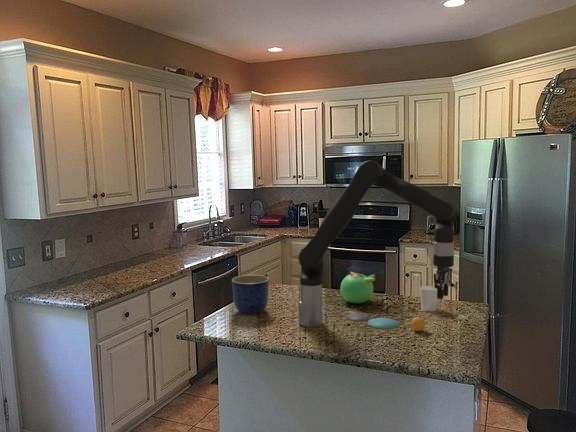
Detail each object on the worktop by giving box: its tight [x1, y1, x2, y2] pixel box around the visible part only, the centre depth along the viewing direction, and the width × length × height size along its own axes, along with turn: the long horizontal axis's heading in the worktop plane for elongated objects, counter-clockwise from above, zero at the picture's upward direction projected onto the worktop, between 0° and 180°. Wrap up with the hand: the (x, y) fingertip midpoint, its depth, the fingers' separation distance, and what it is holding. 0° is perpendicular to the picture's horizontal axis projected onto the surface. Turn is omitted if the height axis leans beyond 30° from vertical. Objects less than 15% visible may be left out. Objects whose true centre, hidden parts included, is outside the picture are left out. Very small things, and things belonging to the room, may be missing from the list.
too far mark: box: [347, 314, 370, 323], centre depth 204 cm, size 9×9×1 cm
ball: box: [410, 316, 426, 332], centre depth 187 cm, size 6×6×6 cm
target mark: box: [367, 317, 400, 330], centre depth 196 cm, size 13×13×1 cm
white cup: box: [419, 285, 439, 312], centre depth 214 cm, size 8×8×10 cm
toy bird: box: [340, 271, 376, 304], centre depth 227 cm, size 18×17×15 cm
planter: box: [231, 274, 270, 315], centre depth 214 cm, size 17×17×15 cm
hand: (442, 297), depth 180 cm, fingers open, 4 cm apart
